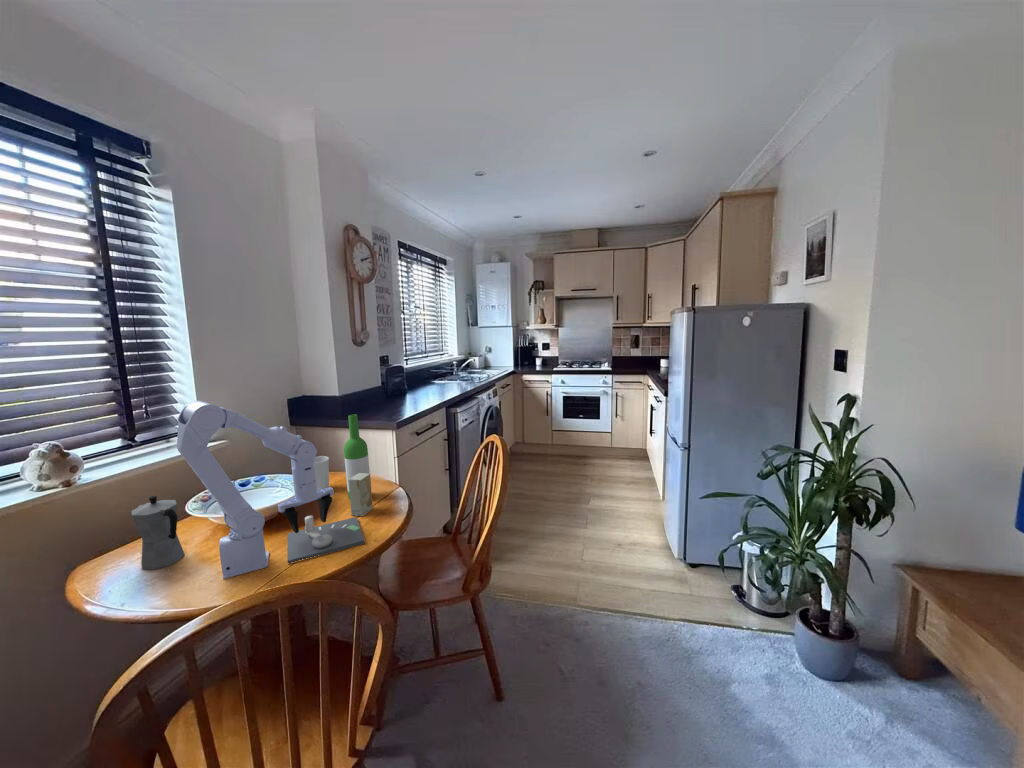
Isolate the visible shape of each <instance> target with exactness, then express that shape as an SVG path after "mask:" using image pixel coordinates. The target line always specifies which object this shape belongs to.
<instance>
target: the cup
mask: <svg viewBox="0 0 1024 768" xmlns="http://www.w3.org/2000/svg"><path fill="white" fill-rule="evenodd" d="M329 462H330V457H329V456H325V455H319V456H315V458H314V465H315V474H316V483H317V490H320V489H325V488H329V487H330V471H329V469H330V467H329V466H330V463H329Z"/></svg>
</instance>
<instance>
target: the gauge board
mask: <svg viewBox="0 0 1024 768" xmlns="http://www.w3.org/2000/svg"><path fill="white" fill-rule="evenodd" d="M314 528H315V531H316V532H317V533H319V534H320V535H325V534H328V535H331V536H332V543H331V544H330V545H328V546H326V547H323V548H314V547H313V546H312V540H313V538H312V537H311V536H310V535H308V534H307V533H306V529H305V528H304V529H300V530H299V532H298V533H295V532H294V531H292V532H288V533H287V552H286V553H287V556H286V558H287V564H288V563H291V562H295V561H298V560H302V559H306V558H310V557H313V558H315V557H314V556H317V557H319V556H318V555H321V556H324V555H327V553H328V554H330V553H332V554H333V553H335V552H339V551H342V550H346V549H350V548H353V547H357V546H360V545H364V544H366V540H365V537H364V534H363V531H362V528H361V526H360V524H359V521H358V516H355V517H351V518H346V519H342V520H337V521H334V522H329V523H325V524H320V525H316V526H314ZM323 554H324V555H323ZM310 559H311V558H310ZM306 560H307V559H306ZM302 561H303V560H302ZM298 562H299V561H298ZM295 563H296V562H295ZM291 564H292V563H291Z"/></svg>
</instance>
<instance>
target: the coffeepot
mask: <svg viewBox="0 0 1024 768" xmlns="http://www.w3.org/2000/svg"><path fill="white" fill-rule="evenodd" d="M148 500H149V502H145V503H142V504H140V505H137V508H134V509H132V510H131V516H132V517H131V518H132V520H133V522H134V523H135V524H134V525H135V526H136V529H137V531H138V534H139V536H140V538H141V540H142V542H141V559H140V560H141V563H140V565H141V570H145V571H154V570H159V569H162V568H166V567H168V566H171V565H174V564H175V563H178V562H179V561H181V559H182V558H183V557H184V556H185V552H184V548H183V547H182V544H181V542H180V539H179V536H178V533H177V530H178V529H177V528H178V527H177V526H178V514H177V508H178V507H177V506H178V505H177V501H176V499H162V500H157V495H151V496H150V497H148Z"/></svg>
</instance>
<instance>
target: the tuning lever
mask: <svg viewBox="0 0 1024 768" xmlns="http://www.w3.org/2000/svg"><path fill="white" fill-rule="evenodd" d="M314 519H315V518H314V515H307V516H305V517H304V524H305V526H304V529H306V533H307V534H308V535H310V536H311V537H312V538H313V540H312V546H313V547H314V548H323V547H326V546H328V545H330V544H331V543H332V536H331V535H328V534H325V535H320V534H319V533H317V532H316V531H315V528H314V527H315V520H314Z"/></svg>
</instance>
